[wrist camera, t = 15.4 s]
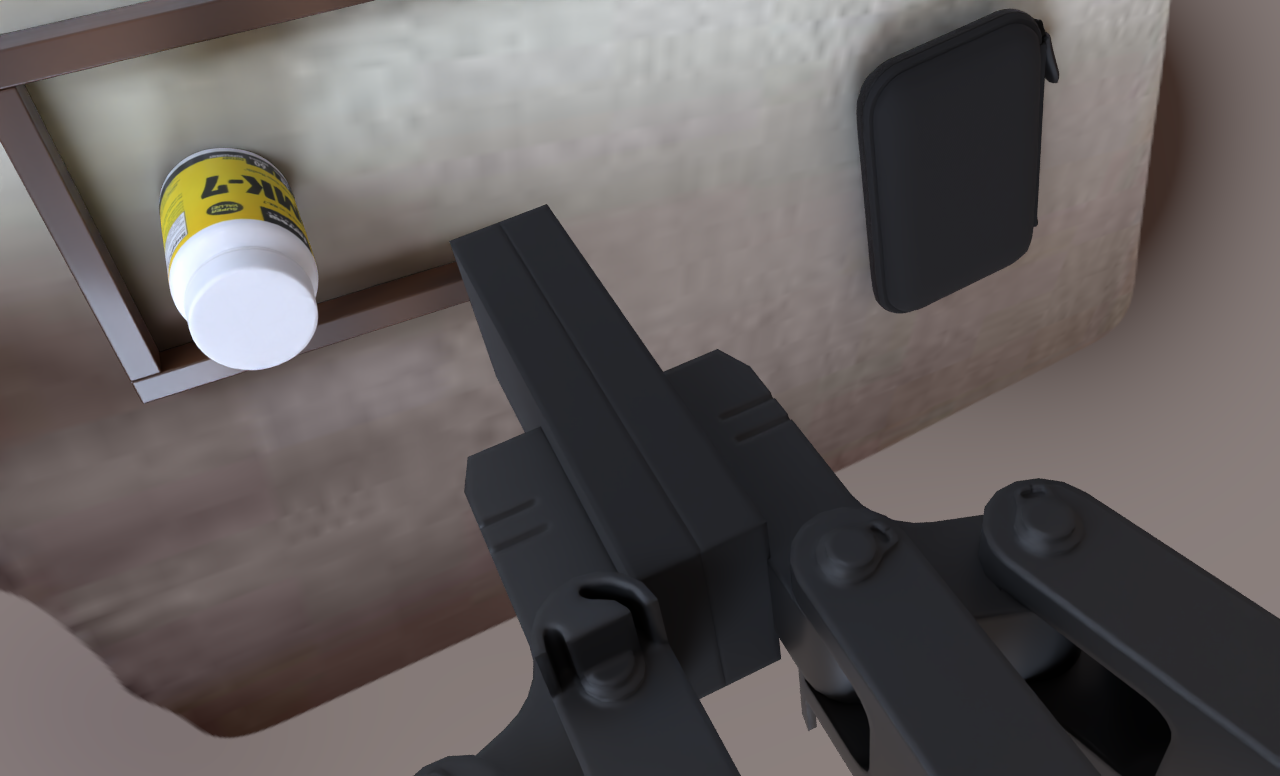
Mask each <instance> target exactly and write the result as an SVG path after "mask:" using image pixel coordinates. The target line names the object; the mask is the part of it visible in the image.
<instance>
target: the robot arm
mask: <svg viewBox="0 0 1280 776" xmlns="http://www.w3.org/2000/svg"><path fill="white" fill-rule="evenodd" d="M449 242H450V244H451V247H452V250H453V253H454V256H455V259H456V262H457V265H458V268H459V270H460V273H461V276H462V279H463V282H464V285H465V288H466V291H467V293H468V296H469V299H470V302H471V305H472V308H473V311H474V314H475V317H476V319H477V322H478V325H479V328H480V331H481V334H482V337H483V340H484V343H485V345H486V348H487V351H488V354H489V357H490V360H491V363H492V366H493V368H494V371H495V374H496V377H497V379H498V381H499V383H500V385H501V387H502V389H503V391H504V393H505V394H506V396H507V398H508V400H509V402H510V404H511V406H512V408H513V410H514V412H515V414H516V416H517V418H518V420H519V422H520V424H521V426H522V428H523V430H524V432H525V433H524V434H521V435H519V436H517V437H514V438H512V439H509V440H507V441H505V442H502V443H500V444H498V445H495V446H493V447H491V448H488V449H486V450H483V451H481V452H479V453H476V454H474V455H472V456H469V457H468V460H467V470H466V480H465V489H464V492H465V495H466V497H467V499H468V502H469V504H470V506H471V509H472V511H473V514H474V516H475V518H476V521H477V523H478V525H479V528H480V530H481V532H482V535H483V537H484V540H485V542H486V544H487V547H488V549H489V551H490V554H491V556H492V558H493V561H494V563H495V565H496V568H497V570H498V573H499V575H500V577H501V580H502V582H503V584H504V587H505V589H506V591H507V594H508V596H509V598H510V601H511V603H512V606H513V608H514V610H515V613H516V615H517V617H518V620H519V622H520V624H521V627H522V629H523V631H524V634H525V636H526V638H527V641H528V643H529V646H530V650H531V653H532V657H533V680H532V684H531V687H530V691H529V694H528V697H527V699H526V701H525V703H524V704H523V706H522V708H521V710H520V711H519V713H518V715H517V716H516V717H515V718H514V719H513V720H512V721H511V722H510V724H509V725H508V726H507V727H506V728H505V729H504V730H503V731H502V732H501V733H500V734H499V735H498V736H496V738H494V739H493V740H492V741H491V742H490V743H489V744H488V745H487V746H486V747H485V748H483V749H482V750H481V751H480V752H479V753H478V754H477V755H476V756H475V755H463V756H447V757H445V758H443V759H441V760H439V761H436V762H434V763H431V764H429V765H427V766H425V767H423V768H422V769H421V770H420V771H418V772H417V773H416V774H415V775H414V776H741V775H740V774H739V772H738V770H737V768H736V766H735V764H734V762H733V761H732V759H731V757H730V755H729V753H728V751H727V750H726V748H725V746H724V744H723V742H722V740H721V739H720V737H719V735H718V733H717V731H716V729H715V728H714V726H713V724H712V722H711V720H710V718H709V716H708V715H707V713H706V711H705V709H704V707H703V705H702V704H701V702H700V700H699V699H701V698H702V697H705V696H706V695H709V694H711V693H713V692H715V691H717V690H719V689H721V688H723V687H725V686H727V685H729V684H731V683H733V682H735V681H737V680H739V679H741V678H743V677H745V676H747V675H749V674H752V673H754V672H756V671H758V670H760V669H762V668H764V667H766V666H768V665H770V664H772V663H774V662H776V661H778V660H780V659H781V654H780V644H779V638H780V640H781V641H782V643H783V644H784V646H785V648H786V649H787V651H788V652H789V654H790V655H791V657H792V659H793V660H794V662H795V663H796V665H797V666H798V668H799V680H800V693H801V705H802V714H803V717H804V720H805V723H806V725H807V728H808V731H809V730H811V729H813V728H815V727H817V724H816V717H817V718H818V720H819V722H820V723H821V725H822V726H823V728H824V729H825V731H826V733H827V734H828V736H829V737H830V739H831V741H832V742H833V744H834V746H835V747H836V749H837V751H838V752H839V754H840V755H841V757H842V759H843V760H844V762H845V763H846V765H847V767H848V768H849V770H850V771H851V773H852V775H853V776H1280V619H1279V618H1277V617H1276V616H1274V615H1273V614H1271V613H1270V612H1268V611H1267V610H1265V609H1264V608H1262V607H1260V606H1259V605H1258V604H1256V603H1254V602H1253V601H1251V600H1250V599H1248V598H1247V597H1245V596H1244V595H1242V594H1241V593H1239V592H1238V591H1236V590H1235V589H1233V588H1232V587H1230V586H1228V585H1227V584H1225V583H1224V582H1222V581H1221V580H1219V579H1218V578H1216V577H1215V576H1213V575H1212V574H1210V573H1209V572H1207V571H1206V570H1204V569H1203V568H1201V567H1199V566H1198V565H1196V564H1195V563H1193V562H1192V561H1190V560H1189V559H1187V558H1186V557H1184V556H1183V555H1181V554H1180V553H1178V552H1177V551H1175V550H1174V549H1172V548H1170V547H1169V546H1167V545H1166V544H1164V543H1163V542H1161V541H1160V540H1158V539H1157V538H1155V537H1153V536H1152V535H1151V534H1149V533H1148V532H1146V531H1144V530H1143V529H1141V528H1140V527H1138V526H1136V525H1135V524H1133V523H1132V522H1131V521H1129V520H1128V519H1126V518H1125V517H1123V516H1121V515H1120V514H1118V513H1117V512H1115V511H1114V510H1112V509H1111V508H1109V507H1108V506H1106V505H1105V504H1103V503H1102V502H1100V501H1098V500H1097V499H1095V498H1094V497H1092V496H1091V495H1089V494H1088V493H1086V492H1084V491H1082V490H1080V489H1077V488H1075V487H1073V486H1071V485H1069V484H1066V483H1065V482H1060V481H1054V480H1046V479H1040V478H1038V479H1030V480H1023V481H1016V482H1014V483H1012V484H1010V485H1008V486H1006V487H1004V488H1002V489H1000V490H999V491H997V492H996V493H995V494H994V496H993V497H992V498H991V499H990V501H989V502H988V503H987V505H986V506H985V509H984V515H979V516H972V517H965V518H958V519H951V520H944V521H937V522H924V523H910V522H903V521H896V520H892V519H890V518H888V517H887V516H885V515H882V514H879V513H876V512H874V511H871V510H870V509H868V508H866V507H865V506H863V505H862V504H861V503H860V502H859V501H858V500H856V499H855V498H854V497H853V496H852V495H851V494H850V492H849V491H848V490H847V489H846V487H845V486H844V485H843V483H842V482H841V481H840V480H839V478H838V477H837V476H836V475H835V473H834V472H833V471H832V470H831V468H830V467H829V466H828V464H827V463H826V462H825V461H824V459H823V458H822V457H821V456H820V454H819V453H818V452H817V451H816V449H815V448H814V447H813V446H812V444H811V443H810V442H809V440H808V439H807V438H806V437H805V435H804V434H803V433H802V432H801V430H800V429H799V428H798V427H797V425H796V424H795V423H794V422H793V420H790V419H789V417H788V414H787V413H786V411H785V410H784V409H783V408H782V406H781V405H780V404H779V403H778V401H777V400H776V399H775V398H774V399H773V397H772V395H771V392H770V391H769V390H768V389H767V387H766V386H765V385H764V384H763V382H762V381H761V380H760V379H759V377H758V376H757V375H756V373H755V372H754V371H753V370H752V368H751V367H750V366H748V365H746V364H744V363H742V362H741V361H739V360H737V359H735V358H733V357H731V356H729V355H728V354H726V353H724V352H722V351H720V350H718V349H716V350H714V351H712V352H709V353H707V354H705V355H702V356H700V357H698V358H695V359H693V360H690V361H688V362H686V363H683V364H681V365H679V366H676V367H674V368H671V369H669V370H667V371H664V372H663V371H662V370H661V368H660V367H659V365H658V364H657V362H656V361H655V359H654V358H653V357H652V355H651V354H650V352H649V351H648V349H647V348H646V346H645V345H644V344H643V342H642V341H641V339H640V338H639V336H638V335H637V333H636V332H635V331H634V329H633V328H632V326H631V325H630V323H629V322H628V320H627V319H626V318H625V316H624V315H623V313H622V312H621V310H620V309H619V307H618V306H617V305H616V303H615V302H614V300H613V299H612V297H611V296H610V294H609V293H608V292H607V290H606V289H605V287H604V286H603V284H602V283H601V281H600V280H599V279H598V277H597V276H596V274H595V273H594V271H593V270H592V269H591V267H590V266H589V264H588V263H587V261H586V260H585V258H584V257H583V256H582V254H581V253H580V251H579V250H578V248H577V247H576V245H575V244H574V243H573V241H572V240H571V238H570V237H569V235H568V234H567V232H566V231H565V230H564V228H563V227H562V225H561V224H560V222H559V221H558V219H557V218H556V217H555V215H554V214H553V212H552V211H551V209H550V208H549V206H548V205H547V204H546V205H543V206H541V207H538V208H535V209H533V210H530V211H528V212H525V213H522V214H520V215H517V216H514V217H512V218H509V219H507V220H504V221H501V222H499V223H496V224H493V225H491V226H488V227H486V228H483V229H480V230H478V231H475V232H472V233H470V234H467V235H465V236H462V237H459V238H457V239H454V240H451V241H449Z"/></svg>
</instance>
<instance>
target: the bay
mask: <svg viewBox="0 0 1280 776" xmlns="http://www.w3.org/2000/svg"><path fill="white" fill-rule="evenodd" d="M370 1H374V0H151V1H147V2H143V3H138V4H134V5H129V6H125V7H121V8H116V9H112V10H107V11H103V12H99V13H94V14H90V15H85V16H81V17H76V18H72V19H68V20H63V21H59V22H54V23H50V24H46V25H41V26H37V27H32V28H28V29H24V30H19V31H15V32H10V33H6V34H2V35H0V142H1V144H2V145H3V147H4V149H5V151H6V153H7V155H8V157H9V158H10V160H11V162H12V164H13V166H14V168H15V169H16V171H17V173H18V175H19V177H20V179H21V180H22V182H23V184H24V186H25V188H26V190H27V192H28V193H29V195H30V197H31V199H32V201H33V203H34V204H35V206H36V208H37V210H38V212H39V214H40V216H41V217H42V219H43V221H44V223H45V225H46V227H47V228H48V230H49V232H50V234H51V236H52V238H53V240H54V241H55V243H56V245H57V247H58V249H59V251H60V252H61V254H62V256H63V258H64V260H65V262H66V263H67V265H68V267H69V269H70V271H71V273H72V275H73V276H74V278H75V280H76V282H77V284H78V286H79V287H80V289H81V291H82V293H83V295H84V297H85V299H86V300H87V302H88V304H89V306H90V308H91V310H92V311H93V313H94V315H95V317H96V319H97V321H98V323H99V324H100V326H101V328H102V330H103V332H104V334H105V335H106V337H107V339H108V341H109V343H110V345H111V346H112V348H113V350H114V352H115V354H116V356H117V358H118V359H119V361H120V363H121V365H122V367H123V369H124V370H125V372H126V374H127V376H128V378H129V380H130V381H131V383H132V385H133V387H134V389H135V391H136V392H137V394H138V396H139V398H140V400H141V402H142V403H143V404H145V403H148V402H151V401H154V400H157V399H161V398H164V397H167V396H170V395H173V394H176V393H180V392H183V391H186V390H189V389H192V388H195V387H199V386H202V385H205V384H208V383H211V382H214V381H218V380H221V379H224V378H227V377H230V376H233V375H236V374H240V373H243V372H246V371H249V370H242V369H235V368H230V367H227V366H224V365H222V364H220V363H217V362H215V361H214V360H212V359H211V358H209V357H208V356H207V355H205V354H204V353H203V352H202V351H201V350H200V349H199V348H198V346H197V345H196V343H195V342H191V343H188V344H185V345H181V346H178V347H175V348H172V349H168V350H165V351H162V352H159V350H158V348H157V346H156V344H155V342H154V340H153V338H152V336H151V334H150V332H149V330H148V328H147V326H146V325H145V323H144V321H143V319H142V317H141V315H140V313H139V311H138V309H137V307H136V305H135V303H134V301H133V299H132V297H131V295H130V293H129V291H128V289H127V287H126V285H125V283H124V281H123V279H122V277H121V275H120V273H119V271H118V269H117V267H116V265H115V263H114V261H113V259H112V257H111V255H110V253H109V251H108V249H107V247H106V245H105V243H104V241H103V239H102V237H101V235H100V234H99V232H98V230H97V228H96V226H95V224H94V222H93V220H92V218H91V216H90V214H89V212H88V210H87V208H86V206H85V204H84V202H83V200H82V198H81V196H80V194H79V192H78V190H77V188H76V186H75V184H74V182H73V180H72V178H71V176H70V174H69V172H68V170H67V168H66V166H65V164H64V162H63V160H62V158H61V156H60V154H59V152H58V150H57V148H56V146H55V144H54V143H53V141H52V139H51V137H50V135H49V133H48V131H47V129H46V127H45V125H44V123H43V121H42V119H41V117H40V115H39V113H38V111H37V109H36V107H35V105H34V103H33V101H32V99H31V97H30V95H29V93H28V91H27V89H26V87H25V85H24V84H27V83H31V82H35V81H39V80H44V79H48V78H52V77H56V76H60V75H65V74H69V73H73V72H77V71H81V70H85V69H90V68H94V67H98V66H102V65H106V64H111V63H115V62H119V61H123V60H127V59H132V58H136V57H140V56H144V55H148V54H152V53H157V52H161V51H165V50H169V49H173V48H178V47H182V46H186V45H190V44H194V43H199V42H203V41H207V40H211V39H215V38H219V37H224V36H228V35H232V34H236V33H240V32H245V31H249V30H253V29H257V28H261V27H265V26H270V25H274V24H278V23H282V22H286V21H291V20H295V19H299V18H303V17H307V16H312V15H316V14H320V13H324V12H328V11H332V10H337V9H341V8H345V7H349V6H353V5H358V4H362V3H366V2H370ZM467 301H470V299H469V296H468V293H467V291H466V288H465V285H464V282H463V279H462V276H461V273H460V270H459V268H458V265H457V262H453V263H449V264H446V265H443V266H440V267H436V268H433V269H430V270H426V271H423V272H420V273H417V274H413V275H410V276H407V277H404V278H400V279H397V280H394V281H391V282H387V283H384V284H381V285H377V286H374V287H371V288H368V289H364V290H361V291H358V292H355V293H351V294H348V295H345V296H341V297H338V298H335V299H332V300H328V301H325V302H322V303H319V304H317V308H318V322H317V327H316V330H315V333H314V335H313V336H312V338H311V340H310V342H309V343H308V344H307V346H306V347H305V348H304V349H303V350H302V351H301V352H300V353H298V354H297V355H300V354H303V353H306V352H309V351H312V350H315V349H319V348H322V347H325V346H328V345H331V344H334V343H338V342H341V341H344V340H347V339H350V338H353V337H357V336H360V335H363V334H366V333H369V332H372V331H376V330H379V329H382V328H385V327H388V326H391V325H395V324H398V323H401V322H404V321H407V320H410V319H413V318H417V317H420V316H423V315H426V314H429V313H432V312H436V311H439V310H442V309H445V308H448V307H451V306H455V305H458V304H461V303H464V302H467ZM297 355H296V356H297Z"/></svg>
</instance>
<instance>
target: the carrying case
mask: <svg viewBox="0 0 1280 776" xmlns="http://www.w3.org/2000/svg"><path fill="white" fill-rule="evenodd" d="M1045 78H1046V79H1047V80H1048V81H1049V82H1051V83H1057V82H1058V79H1059V71H1058V66H1057V63H1056V59H1055V55H1054V51H1053V47H1052V43H1051V37H1050V35H1049V34H1048V33H1047V32H1045V29H1044V27H1043V22H1042V21H1041V20H1039V19H1033V18H1032V17H1031V16H1030V15H1028V14H1027V13H1025V12H1023V11H1020V10H1017V9H1004V10H1000V11H997V12H994V13H992V14H990V15H987V16H985V17H983V18H981V19H979V20H976V21H974V22H972V23H970V24H968V25H965V26H963V27H961V28H959V29H956V30H954V31H952V32H950V33H948V34H945V35H943V36H941V37H939V38H936V39H934V40H932V41H930V42H927V43H925V44H923V45H921V46H918V47H916V48H914V49H912V50H909V51H907V52H905V53H903V54H900V55H898V56H896V57H894V58H891V59H889V60H887V61H886V62H884V63H882V64H881V65H880V66H879V67H877V68H876V69H875V70H874V71H873V72H872V73H871V74H870V75H869V76H868V77H867V78H866V80H865V81H864V83H863V85H862V87H861V91H860V94H859V98H858V101H857V127H858V139H859V150H860V161H861V171H862V182H863V193H864V203H865V214H866V225H867V236H868V247H869V258H870V270H871V279H872V287H873V292H874V295H875V299H876V301H877V302H878V303H879V304H880V305H881V306H882V307H883V308H884V309H885V310H887V311H890V312H893V313H907V312H911V311H914V310H918V309H921V308H923V307H925V306H927V305H929V304H931V303H933V302H935V301H937V300H939V299H941V298H943V297H946V296H948V295H950V294H952V293H954V292H956V291H958V290H960V289H962V288H964V287H966V286H968V285H970V284H972V283H974V282H976V281H978V280H980V279H982V278H984V277H986V276H989V275H991V274H993V273H995V272H997V271H999V270H1001V269H1003V268H1005V267H1007V266H1009V265H1011V264H1013V263H1014V262H1015V261H1017V260H1018V259H1019V258H1020V257H1021V256H1023V255H1024V254H1025V253H1026V252H1027V250H1028V248H1029V245H1030V242H1031V239H1032V234H1033V227H1036V226H1037V225H1038V220H1037V208H1038V190H1039V172H1040V154H1041V135H1042V117H1043V99H1044V81H1045Z"/></svg>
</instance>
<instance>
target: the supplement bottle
mask: <svg viewBox="0 0 1280 776" xmlns="http://www.w3.org/2000/svg"><path fill="white" fill-rule="evenodd" d="M159 211H160V218H161V228H162V234H163V242H164V250H165V257H166V265H167V272H168V280H169V287H170V292H171V295H172V298H173V300H174V303H175V305H176V307H177V309H178V310H179V312H180V313H181V315H182V316H183V317H184V318H185V319H186V320H187V321H188V326H189V330H190V333H191V336H192V338H193V340H194V342H195V343H196V345H197V346H198V348H199V349H200V350H201V351H202V352H203V353H204V354H205V355H207V356H208V357H209V358H211V359H212V360H214V361H215V362H217V363H220V364H222V365H224V366H227V367H230V368H235V369H242V370H260V369H266V368H270V367H274V366H277V365H279V364H281V363H284V362H286V361H288V360H290V359H291V358H293V357H294V356H296V355H297V354H298V353H300V352H301V351H302V350H303V349H304V348H305V347H306V346H307V344H308V343H309V342H310V340H311V338H312V336H313V335H314V333H315V330H316V327H317V322H318V308H317V303H316V299H315V297H316V294H317V290H318V270H317V265H316V261H315V258H314V255H313V252H312V249H311V246H310V243H309V241H308V238H307V235H306V232H305V229H304V226H303V223H302V220H301V218H300V215H299V211H298V209H297V205H296V203H295V199H294V195H293V193H292V191H291V189H290V187H289V185H288V183H287V181H286V179H285V178H284V176H283V175H282V174H281V172H280V171H279V170H278V169H277V168H276V167H275V166H274V165H273V164H271V163H270V162H269V161H267V160H266V159H264V158H263V157H261V156H259V155H257V154H254V153H252V152H249V151H245V150H241V149H234V148H213V149H207V150H203V151H200V152H197V153H195V154H192V155H191V156H189V157H187V158H185V159H184V160H182V161H181V162H180V163H179V164H177V165H176V166H175V167H174V168H173V169H172V171H171V172H170V173H169V175H168V176H167V178H166V180H165V181H164V184H163V186H162V189H161V193H160V198H159Z"/></svg>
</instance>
